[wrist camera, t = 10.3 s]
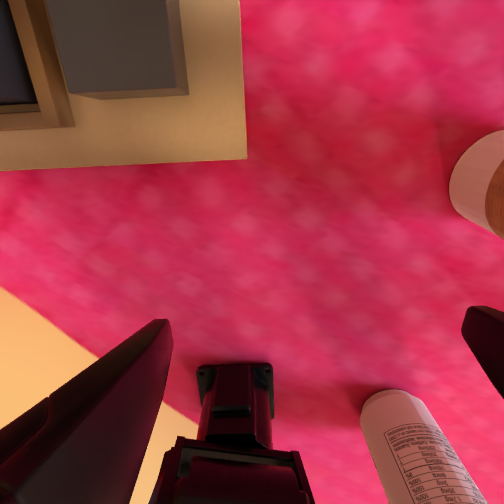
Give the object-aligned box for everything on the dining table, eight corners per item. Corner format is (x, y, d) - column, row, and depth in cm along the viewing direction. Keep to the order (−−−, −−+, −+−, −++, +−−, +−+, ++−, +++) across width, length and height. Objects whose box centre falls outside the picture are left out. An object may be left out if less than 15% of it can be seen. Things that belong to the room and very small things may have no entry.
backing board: (247, 157, 18) (247, 164, 14) (-47, 171, 19) (-126, 182, 15) (231, -170, 13) (222, -300, 9) (-184, -143, 13) (-365, -258, 9)
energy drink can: (346, 424, 28) (441, 714, 14) (371, 379, 26) (512, 671, 12) (403, 434, 28) (549, 722, 15) (432, 391, 26) (637, 682, 12)
